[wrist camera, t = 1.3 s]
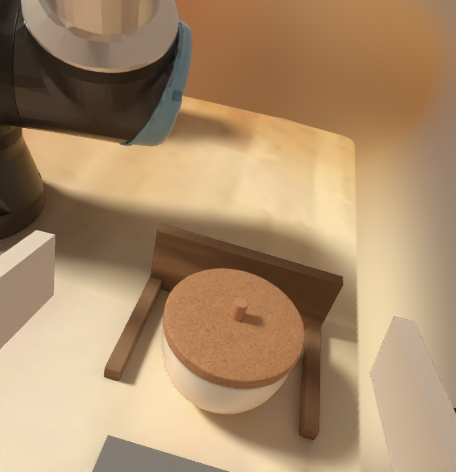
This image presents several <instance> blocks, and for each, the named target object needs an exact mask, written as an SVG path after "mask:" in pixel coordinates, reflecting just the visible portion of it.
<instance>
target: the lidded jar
mask: <svg viewBox="0 0 456 472" xmlns="http://www.w3.org/2000/svg"><path fill="white" fill-rule="evenodd" d="M304 345H305V330H304V325H303V322H302V318H301V316H300V314H299V312H298V310H297V308H296V307H295V305H294V304H293V302H292V301H291V300H290V299H289V298H288V297H287V296H286V295H285V294H284V293H283V292H282V291H281V290H280V289H279V288H277V287H276V286H275V285H273V284H272V283H270V282H268V281H267V280H265V279H263V278H261V277H259V276H256V275H254V274H251V273H248V272H244V271H240V270H234V269H225V268H222V269H209V270H204V271H201V272H197V273H195V274H193V275H190V276H188V277H187V278H185V279H184V280H182V281H181V282H179V283H178V284H177V285H176V286H175V287H174V288H173V290H172V291H171V293H170V294H169V296H168V298H167V301H166V304H165V309H164V314H163V328H162V355H163V360H164V366H165V369H166V371H167V374H168V376H169V378H170V380H171V382H172V383H173V385H174V387H175V388H176V389H177V391H178V392H179V393H180V394H181V395H182V396H183V397H184V398H185V399H186V400H188V401H189V402H191V403H192V404H194V405H195V406H197V407H199V408H201V409H203V410H206V411H209V412H212V413H219V414H237V413H242V412H245V411H248V410H251V409H253V408H255V407H257V406H259V405H261V404H263V403H264V402H265V401H266V400H268V399H269V398H270V397H271V396H272V395H274V394H275V392H276V391H277V390H278V389H279V388H280V386H281V385H282V384H283V383H284V382H285V380H286V378H287V377H288V375H289V373H290V371H291V370H292V369H293V368H294V367H295V365H296V363H297V362H298V360H299V358H300V356H301V354H302V352H303V348H304Z"/></svg>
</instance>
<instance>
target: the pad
mask: <svg viewBox="0 0 456 472" xmlns="http://www.w3.org/2000/svg"><path fill="white" fill-rule="evenodd" d="M92 472H228V471H225V470H222V469H218V468H215V467H212V466H208V465H205V464H202V463H199V462H195V461H192V460H189V459H185V458H182V457H179V456H175V455H172V454H169V453H165V452H162V451H159V450H155V449H152V448H149V447H146V446H142V445H139V444H136V443H132V442H129V441H126V440H122V439H119V438H116V437H112V436H109V435H108V436H107V439H106V441H105V443H104V446H103V448H102V450H101V453H100V455H99V457H98V460H97V462H96V464H95V467H94V469H93V471H92Z"/></svg>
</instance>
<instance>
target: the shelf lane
mask: <svg viewBox="0 0 456 472" xmlns="http://www.w3.org/2000/svg"><path fill="white" fill-rule="evenodd" d="M222 268H225V269H234V270H240V271H244V272H248V273H251V274H254V275H256V276H259V277H261V278H263V279H265V280H267V281H268V282H270V283H272V284H273V285H275V286H276V287H277V288H279V289H280V290H281V291H282V292H283V293H284V294H285V295H286V296H287V297H288V298H289V299H290V300H291V301H292V302H293V304H294V305H295V307H296V308H297V310H298V312H299V314H300V316H301V318H302V322H303V325H304V330H305V345H304V358H303V377H302V396H301V414H300V433H299V435H300V436H303V437H307V438H310V439H313V440H314V439H315V437H316V436H317V434H318V433H319V408H320V340H321V325H322V324H323V322H324V320H325V318H326V316H327V314H328V312H329V310H330V309H331V307H332V305H333V303H334V301H335V299H336V297H337V295H338V294H339V292H340V290H341V288H342V286H343V277H342V276H339V275H335V274H332V273H328V272H325V271H322V270H318V269H315V268H311V267H308V266H304V265H301V264H298V263H294V262H291V261H287V260H284V259H281V258H277V257H274V256H270V255H267V254H264V253H260V252H257V251H253V250H250V249H246V248H243V247H240V246H236V245H233V244H229V243H226V242H223V241H219V240H216V239H212V238H209V237H205V236H202V235H199V234H195V233H192V232H188V231H185V230H182V229H178V228H175V227H171V226H168V225H164V224H161V225H160V227H159V229H158V230H157V236H156V242H155V249H154V256H153V262H152V269H151V276H150V278H149V280H148V282H147V284H146V286H145V288H144V290H143V292H142V294H141V296H140V298H139V300H138V302H137V304H136V306H135V308H134V310H133V312H132V314H131V316H130V318H129V320H128V322H127V324H126V326H125V328H124V330H123V332H122V334H121V336H120V338H119V340H118V342H117V344H116V346H115V348H114V350H113V352H112V354H111V356H110V358H109V360H108V362H107V364H106V366H105V371H104V377H106V378H110V379H113V380H116V381H119V379H120V377H121V374H122V372H123V370H124V368H125V366H126V363H127V361H128V359H129V357H130V355H131V352H132V350H133V348H134V346H135V344H136V341H137V339H138V337H139V335H140V333H141V330H142V328H143V326H144V324H145V322H146V319H147V317H148V315H149V313H150V311H151V308H152V306H153V304H154V302H155V300H156V297H157V295H158V293H159V291H160V289H164V290H167V291H170V292H171V291H172V290H173V288H174V287H175V286H176V285H177V284H178V283H179V282H181V281H182V280H184V279H185V278H187V277H188V276H190V275H193V274H195V273H197V272H201V271H204V270H209V269H222Z"/></svg>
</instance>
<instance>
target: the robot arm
mask: <svg viewBox="0 0 456 472" xmlns="http://www.w3.org/2000/svg"><path fill="white" fill-rule="evenodd" d="M191 52H192V32H191V29H190V28H189V26H188V25H187V24H185V23H183V22H181V21H180V20H179V18H178V11H177V7H176V3H175V1H174V0H0V239H1V238H4V237H6V236H9V235H11V234H14V233H16V232H18V231H20V230H21V229H23V228H25V227H26V226H28V225H29V224H30V223H32V222H33V221H34V220H35V219H36V218H37V216H38V215H39V214H40V212H41V210H42V208H43V205H44V188H43V181H42V178H41V175H40V173H39V172H38V170H37V167H36V165H35V162H34V160H33V158H32V156H31V153H30V151H29V149H28V147H27V145H26V143H25V141H24V138H23V135H22V128H29V129H36V130H42V131H48V132H55V133H61V134H68V135H74V136H80V137H85V138H91V139H97V140H103V141H109V142H115V143H120V144H121V145H125V146H130V145H142V146H157V145H160V144H161V143H163V142H164V141H165V140H166V139H167V138H168V137H169V135H170V133H171V131H172V129H173V127H174V125H175V122H176V119H177V116H178V113H179V110H180V106H181V103H182V94H183V92H184V89H185V86H186V82H187V78H188V73H189V67H190V60H191ZM54 263H55V234H51V233H46V232H42V231H38V230H36V231H34V232H33V233H32V234H30V235H29V236H27V237H26V238H24V239H23V240H22V241H20V242H19V243H17V244H16V245H14V246H13V247H12V248H10V249H9V250H7V251H6V252H4V253H3V254H2V255H0V349H1V348H2V347H3V346H4V345H5V344H6V343H7V342H8V341H9V340H10V339H11V338H12V337H13V336H14V335H15V334H16V333H17V332H18V330H19V329H20V328H21V327H22V326H23V325H24V324H25V323H26V322H27V321H28V320H29V319H30V318H31V317H32V316H33V315H34V314H35V313H36V312H37V311H38V310H39V309H40V308H41V307H42V306H43V305H44V304H45V303H46V302H47V301H48V300H49V299H50V298H51V297H52V296H53V295H54ZM370 377H371V381H372V385H373V389H374V393H375V398H376V402H377V406H378V410H379V415H380V419H381V423H382V427H383V432H384V435H385V440H386V444H387V448H388V453H389V457H390V461H391V465H392V469H393V472H456V408H453V406H452V404H451V402H450V400H449V397H448V395H447V393H446V391H445V389H444V386H443V384H442V382H441V379H440V377H439V375H438V373H437V370H436V368H435V366H434V364H433V362H432V359H431V357H430V355H429V353H428V350H427V348H426V346H425V344H424V341H423V339H422V337H421V335H420V333H419V330H418V328H417V326H416V323H415V321H412V320H408V319H403V318H399V317H395V316H394V317H393V320H392V322H391V324H390V327H389V329H388V331H387V334H386V336H385V338H384V341H383V343H382V345H381V348H380V350H379V353H378V355H377V357H376V359H375V362H374V364H373V366H372V369H371V371H370Z"/></svg>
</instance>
